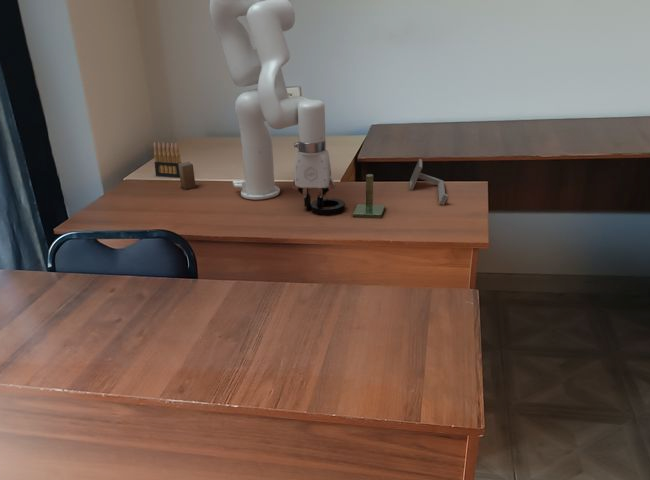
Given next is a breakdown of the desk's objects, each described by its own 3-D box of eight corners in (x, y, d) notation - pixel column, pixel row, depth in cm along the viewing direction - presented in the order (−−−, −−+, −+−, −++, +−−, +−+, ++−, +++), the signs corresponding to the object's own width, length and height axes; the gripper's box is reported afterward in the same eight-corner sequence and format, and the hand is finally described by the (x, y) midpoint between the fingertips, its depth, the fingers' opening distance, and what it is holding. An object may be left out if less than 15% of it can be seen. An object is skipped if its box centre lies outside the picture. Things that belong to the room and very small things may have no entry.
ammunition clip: (184, 176, 238) (179, 141, 231) (181, 177, 236) (176, 143, 230) (158, 174, 242) (153, 140, 236) (155, 175, 240) (150, 142, 234)
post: (353, 217, 191) (353, 179, 185) (357, 207, 197) (357, 170, 191) (381, 218, 188) (382, 179, 183) (384, 208, 195) (385, 171, 189)
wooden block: (196, 187, 225) (193, 163, 221) (185, 189, 224) (181, 166, 220) (191, 184, 228) (188, 161, 224) (180, 186, 227) (177, 163, 223)
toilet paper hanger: (439, 214, 195) (450, 191, 191) (409, 204, 195) (419, 180, 191) (437, 190, 214) (447, 168, 210) (409, 180, 214) (419, 158, 210)
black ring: (307, 214, 195) (307, 208, 194) (314, 203, 203) (314, 197, 202) (341, 216, 192) (341, 210, 191) (347, 204, 200) (347, 198, 199)
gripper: (281, 150, 188) (284, 212, 198) (338, 150, 184) (338, 214, 193) (287, 143, 194) (290, 204, 204) (343, 143, 190) (343, 205, 199)
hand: (314, 208), depth 198 cm, fingers closed
